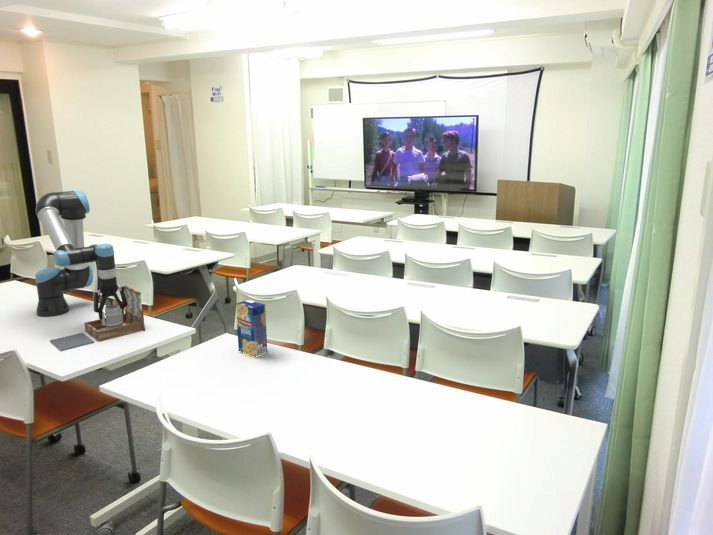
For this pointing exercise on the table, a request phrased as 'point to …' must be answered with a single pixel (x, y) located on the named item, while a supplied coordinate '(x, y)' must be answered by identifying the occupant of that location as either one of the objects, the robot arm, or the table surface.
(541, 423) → the table surface
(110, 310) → the mug
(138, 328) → the box
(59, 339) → the slate mat
